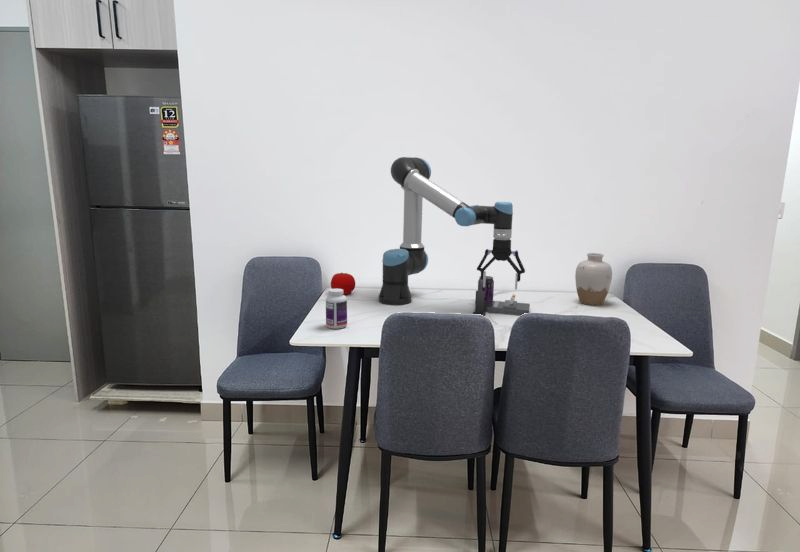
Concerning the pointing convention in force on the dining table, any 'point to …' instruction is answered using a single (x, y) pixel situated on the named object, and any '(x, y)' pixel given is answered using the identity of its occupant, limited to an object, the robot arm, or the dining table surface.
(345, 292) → the tomato
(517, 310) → the breaker panel
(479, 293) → the cord post
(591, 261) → the vase
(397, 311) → the dining table surface
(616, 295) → the dining table surface
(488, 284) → the beverage can
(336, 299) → the pill bottle
